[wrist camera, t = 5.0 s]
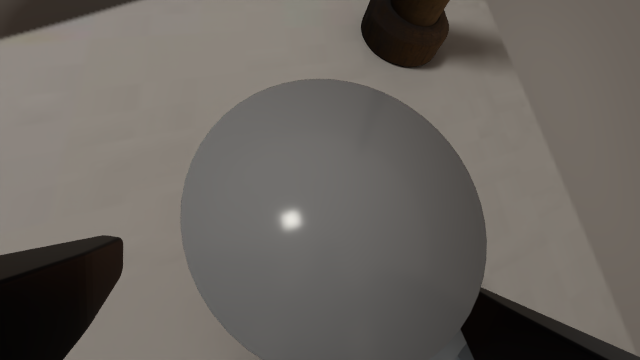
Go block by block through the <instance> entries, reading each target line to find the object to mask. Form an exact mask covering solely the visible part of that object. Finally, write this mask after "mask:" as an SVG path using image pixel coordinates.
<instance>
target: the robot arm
mask: <svg viewBox="0 0 640 360" xmlns="http://www.w3.org/2000/svg"><path fill="white" fill-rule="evenodd" d="M122 269H123V241H122V239H121V238H119V237H113V236H106V235H102V236H97V237H92V238H87V239H82V240H76V241H71V242H66V243H61V244H56V245H51V246H46V247H40V248H35V249H30V250H25V251H20V252H15V253H10V254H4V255H0V360H63V359H64V358H65V357H66V355H67V354H68V353H69V352H70V350H71V349H72V348H73V347H74V345H75V344H76V343H77V342H78V340H79V339H80V338H81V336H82V335H83V334H84V332H85V331H86V330H87V329H88V327H89V326H90V324H91V323H92V321H93V320H94V318H95V316H96V315H97V313H98V312H99V310H100V308H101V307H102V305H103V304H104V302H105V300H106V299H107V297H108V296H109V294H110V292H111V291H112V289H113V288H114V286H115V284H116V283H117V281H118V280H119V278H120V276H121V273H122ZM460 330H461V332H462V334H463V336H464V338H465V341H466V343H467V345H468V347H469V350H470V352H471V354H472V356H473V359H474V360H640V357H638V356H636V355H634V354H631V353H629V352H627V351H624V350H622V349H620V348H618V347H615V346H613V345H611V344H609V343H606V342H604V341H602V340H600V339H597V338H595V337H593V336H590V335H588V334H586V333H584V332H581V331H579V330H577V329H575V328H572V327H570V326H568V325H565V324H563V323H561V322H559V321H556V320H554V319H552V318H550V317H547V316H545V315H543V314H540V313H538V312H536V311H534V310H531V309H529V308H527V307H525V306H522V305H520V304H518V303H516V302H513V301H511V300H509V299H506V298H504V297H502V296H500V295H497V294H495V293H493V292H491V291H488V290H486V289H484V288H481V287H480V291H479V294H478V297H477V299H476V301H475V304H474V306H473V308H472V310H471V313H470V314H469V316H468V318H467V319H466V321H465V322H464V324H463V325H462V327H461V328H460Z"/></svg>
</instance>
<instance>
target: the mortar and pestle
mask: <svg viewBox="0 0 640 360" xmlns="http://www.w3.org/2000/svg"><path fill="white" fill-rule="evenodd" d="M448 2H449V0H370V2H369V5H368V7H367V10H366V12H365V15H364V17H363V20H362V23H361V31H362V35H363V38H364V40H365V41H366V43H367V45H368V46H369V47H370V48H371V49H372V50H373V51H374V52H375V53H376V54H377V55H379V56H380V57H381V58H383V59H385V60H387V61H389V62H391V63H395V64H398V65H401V66H406V67H415V66H420V65H423V64H425V63H427V62H429V61H430V60H431V59H432V58H433V56H434V55H435V54H436V52H437V50H438V49H439V47H440V46H441V45H442V43H443V42H444V40H445V39H446V37H447V35H448V31H449V24H448V20H447V17H446V14H445V11H444V8H445V7H446V5H447V3H448Z"/></svg>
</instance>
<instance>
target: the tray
mask: <svg viewBox="0 0 640 360" xmlns="http://www.w3.org/2000/svg"><path fill="white" fill-rule="evenodd" d="M429 360H474V359H473V356H472V354H471V352H470V350H469V347H468V345H467V343H466V341H465V338H464V336H463V334H462V332H461V330H459V331H458V333H457V334H456V335H455V336H454V337H453V338H452V339H451V340H450V342H449V343H448V344H447V345H446V346H445V347H444V348H443V349H441V350H440V351H439V352H438V353H437V354H435V355H434V356H433V357H432V358H430V359H429Z"/></svg>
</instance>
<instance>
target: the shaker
mask: <svg viewBox="0 0 640 360" xmlns="http://www.w3.org/2000/svg"><path fill="white" fill-rule="evenodd" d="M181 232H182V241H183V248H184V252H185V255H186V259H187V263H188V267H189V270H190V272H191V275H192V277H193V279H194V282H195V284H196V286H197V289H198V291H199V293H200V294H201V296H202V298H203V299H204V301H205V302H206V304H207V306H208V307H209V309H210V311H211V312H212V314H213V315H214V316H215V317H216V318H217V320H218V321H219V322H220V323H221V324H222V326H223V327H224V328H225V329H226V330H227V332H228V333H229V334H230V335H232V336H233V337H234V338H235V339H236V340H237V341H238V342H239V343H241V344H242V345H243V346H244V347H245V348H246V349H247V350H249V351H250V352H252V353H253V354H255V355H256V356H258V357H259V358H261V359H263V360H429V359H430V358H432V357H433V356H434V355H435V354H437V353H438V352H439V351H440V350H441V349H443V348H444V347H445V346H446V345H447V344H448V343H449V342H450V340H451V339H452V338H453V337H454V336H455V335H456V334H457V333H458V331H459V330H460V328H461V327H462V325H463V324H464V322H465V321H466V319H467V318H468V316H469V314H470V313H471V310H472V308H473V306H474V304H475V301H476V299H477V297H478V294H479V291H480V287H481V284H482V280H483V277H484V270H485V263H486V245H487V239H486V229H485V220H484V216H483V211H482V207H481V203H480V200H479V197H478V194H477V191H476V188H475V186H474V183H473V181H472V179H471V177H470V175H469V172H468V171H467V169H466V167H465V165H464V164H463V162H462V160H461V159H460V157H459V155H458V154H457V153H456V151H455V150H454V149H453V147H452V146H451V145H450V143H449V142H448V141H447V140H446V139H445V137H444V136H443V135H442V134H441V133H440V132H439V131H438V130H437V129H436V128H435V127H434V126H433V125H432V124H431V123H430V122H429V121H428V120H426V119H425V118H424V117H423V116H421V115H420V114H419V113H417V112H416V111H415V110H413V109H412V108H411V107H409V106H407V105H406V104H404V103H402V102H401V101H399V100H398V99H396V98H394V97H392V96H389V95H387V94H385V93H383V92H381V91H378V90H375V89H373V88H370V87H367V86H364V85H360V84H356V83H352V82H347V81H340V80H331V79H309V80H298V81H293V82H287V83H283V84H280V85H276V86H273V87H270V88H267V89H265V90H263V91H260V92H258V93H256V94H254V95H252V96H250V97H249V98H247V99H245V100H244V101H242V102H240V103H239V104H237V105H236V106H235V107H234V108H232V109H231V110H230V111H229V112H227V113H226V114H225V115H224V116H223V117H222V118H221V119H220V120H219V121H218V122H217V123H216V124H215V125H214V126H213V127H212V128H211V130H210V131H209V133H208V134H207V135H206V137H205V138H204V140H203V141H202V143H201V144H200V146H199V148H198V150H197V152H196V154H195V156H194V158H193V160H192V162H191V165H190V168H189V170H188V173H187V176H186V179H185V184H184V189H183V194H182V200H181Z"/></svg>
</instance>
